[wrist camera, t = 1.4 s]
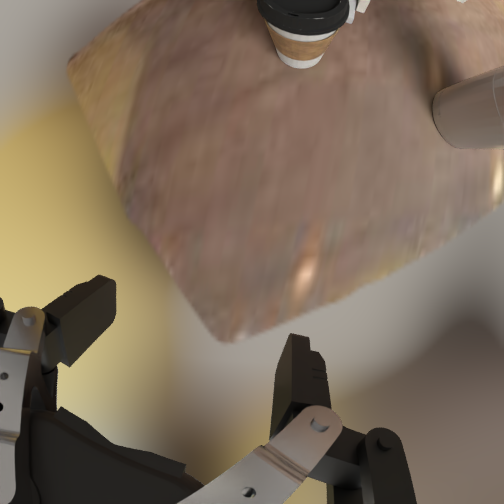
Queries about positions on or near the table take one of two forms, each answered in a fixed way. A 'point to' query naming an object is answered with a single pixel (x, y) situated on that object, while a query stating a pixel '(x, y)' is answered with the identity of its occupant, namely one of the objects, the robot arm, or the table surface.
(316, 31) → the coffee cup
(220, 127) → the table surface
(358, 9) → the white rectangular frame
